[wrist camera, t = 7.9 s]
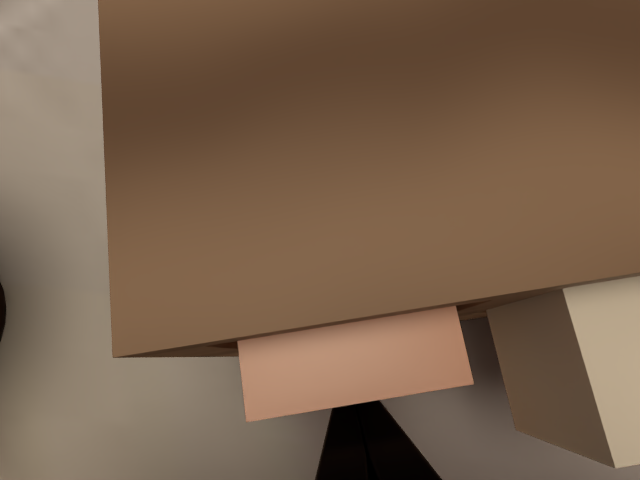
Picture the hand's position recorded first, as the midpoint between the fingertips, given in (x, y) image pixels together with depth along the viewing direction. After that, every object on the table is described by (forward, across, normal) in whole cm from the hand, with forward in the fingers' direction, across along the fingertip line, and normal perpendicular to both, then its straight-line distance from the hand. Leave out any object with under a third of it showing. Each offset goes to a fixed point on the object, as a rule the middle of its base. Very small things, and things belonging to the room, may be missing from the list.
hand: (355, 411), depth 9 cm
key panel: (+9, -6, +1) cm, 11 cm away
